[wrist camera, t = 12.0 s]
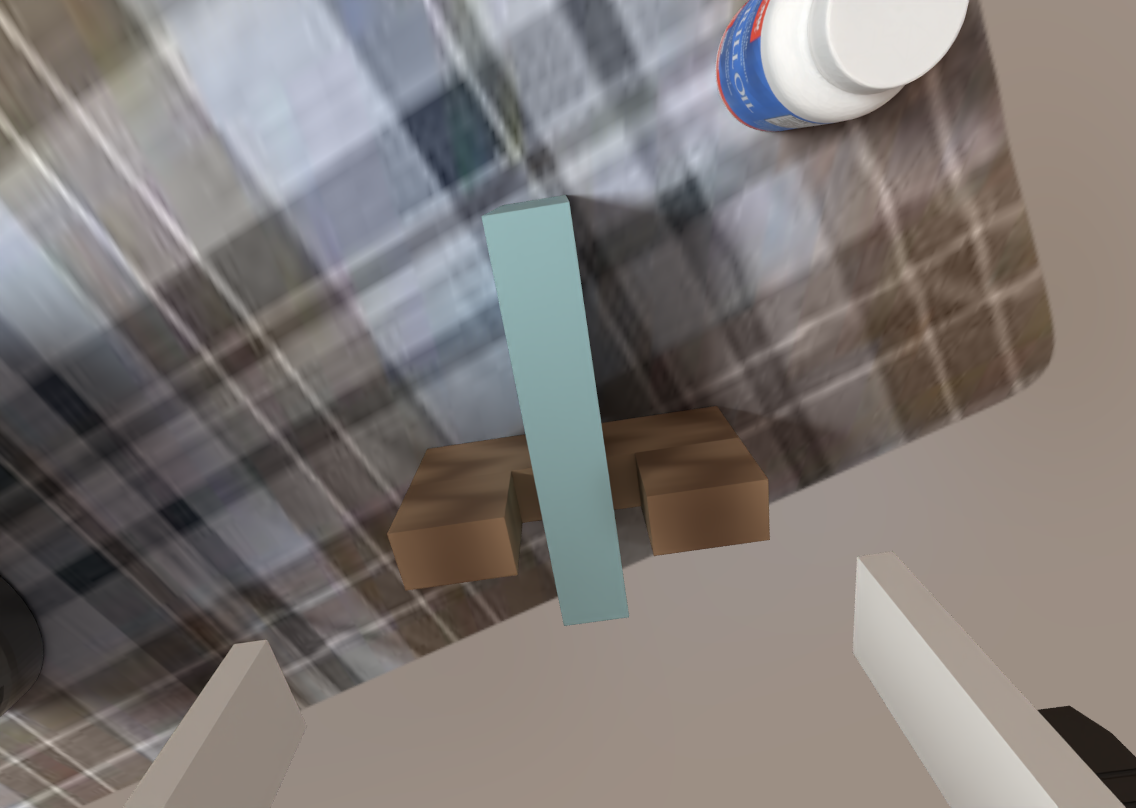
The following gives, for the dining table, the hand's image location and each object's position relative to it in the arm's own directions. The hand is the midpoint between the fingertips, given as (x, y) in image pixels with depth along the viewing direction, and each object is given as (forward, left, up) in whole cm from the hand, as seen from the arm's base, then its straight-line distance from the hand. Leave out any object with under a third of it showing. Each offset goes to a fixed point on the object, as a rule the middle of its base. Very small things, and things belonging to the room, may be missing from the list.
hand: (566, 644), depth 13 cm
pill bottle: (+11, +13, -19) cm, 25 cm away
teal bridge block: (0, 0, -18) cm, 18 cm away
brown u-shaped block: (0, -5, -18) cm, 19 cm away
